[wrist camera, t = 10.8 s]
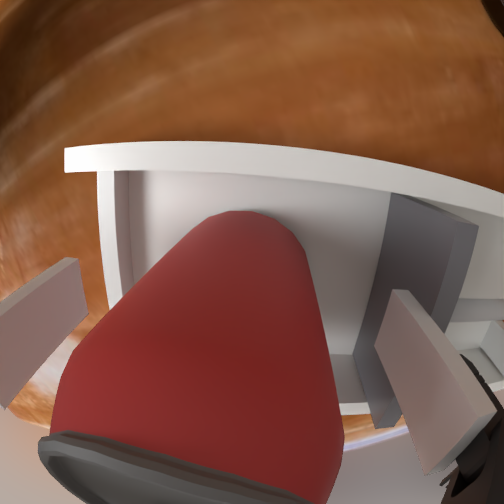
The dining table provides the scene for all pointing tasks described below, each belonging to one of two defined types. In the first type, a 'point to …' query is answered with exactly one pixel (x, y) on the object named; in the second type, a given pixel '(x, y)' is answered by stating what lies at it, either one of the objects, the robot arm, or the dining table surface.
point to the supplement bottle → (496, 12)
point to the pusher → (417, 287)
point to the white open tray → (292, 227)
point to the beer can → (204, 380)
